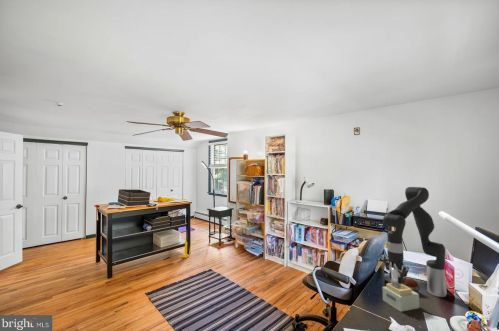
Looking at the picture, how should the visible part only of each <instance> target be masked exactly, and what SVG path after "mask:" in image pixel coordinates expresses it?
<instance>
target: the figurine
mask: <svg viewBox="0 0 499 331" xmlns="http://www.w3.org/2000/svg"><path fill="white" fill-rule="evenodd" d="M383 282H384V283H383V284H384V287H386V284H388V283H392V280H390V281H389V280H388V279H387V278H384V280H383ZM402 284H403V285H405V286H407V287H409V288H410V289H412V291H414V292H416V293H418V292H419V291H420V289H421V288H420V285H419V283H418V282H417V281H416V280H415V279H413V278H411V277H410V278H406V277H403V283H402Z"/></svg>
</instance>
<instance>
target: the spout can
mask: <svg viewBox="0 0 499 331" xmlns="http://www.w3.org/2000/svg"><path fill="white" fill-rule="evenodd" d="M400 270H401V269H400ZM400 270H399V271H400ZM391 281H392V285H394V286H401V284H399V283H398V273H397V272H396V269H395V266H394V265H393V267H391Z"/></svg>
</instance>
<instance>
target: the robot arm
mask: <svg viewBox="0 0 499 331" xmlns="http://www.w3.org/2000/svg"><path fill="white" fill-rule="evenodd" d="M404 191H405V192H404V195H405V198H406V201H403V202H401V203H399V205H397V207H395V208H394V209H393V210H390V211H389V212H387V213H385V214H384V215H383V218H382V221H383V222H382V223H383V224H384V225H385V226H387V227H391V228H395V230H389V231H387V234H386V235H387V243H386V247H387V252H386V253H387V258H383V263H384V266H385V270H386V271H388V272H389V280H390V279H391V267H393V265H394V266H395V269H396V272H397V273H398V283H399V284H402V283H403V277H405V278H406V277H408V273H409V269H410V268H409V266H406V265H404V263H403V262H404V260H405V259H404V246H403V234H404V230H405V227H406V223H407V221H406V219H407V218H408V217H409V215H411V213H412V216H413V218H414V222H415V226H416V228H417V231H418V235H419V238H420V243H421V247H422V251H423V252H424V254H425V255H428V256H431V257H435V259H429V260H427V261H426V282H427V283H426V284H427V285H426V288H427V289H426V290H427V293H429V294H430V295H432V296H435V297H439V298H446V296H447V294H448V293H447V280H446V268H445V266H446V246H444V244H442V243H439V242H434V241H431V240H430V235H431V234H432V232H433V231H434V229H435V224H434V220H433V217H432V216H431V215H430V213H428V211H426V210H425V209H424V208H423V207H422V206H421V205H423V204H425V202H427V201H428V199H429V198H430V193H429V190H428V189H427V187H421V186H419V187H418V186H408V187H405V190H404ZM400 269H401V270H400ZM399 270H400V271H399ZM391 280H392V279H391Z"/></svg>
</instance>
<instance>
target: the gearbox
mask: <svg viewBox="0 0 499 331" xmlns="http://www.w3.org/2000/svg"><path fill="white" fill-rule="evenodd" d="M382 301H383V302H385V303H386V304H388V305H389V306H392V308H394V309H395V310H398V311H399V312H407V311H411V310H417V309H420V294H419V293H418V292H414V291H412V289H410V288H409V287H407V286H405V285H403V284H401V286H394V285H392V283H388V284H386V286H382Z"/></svg>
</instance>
